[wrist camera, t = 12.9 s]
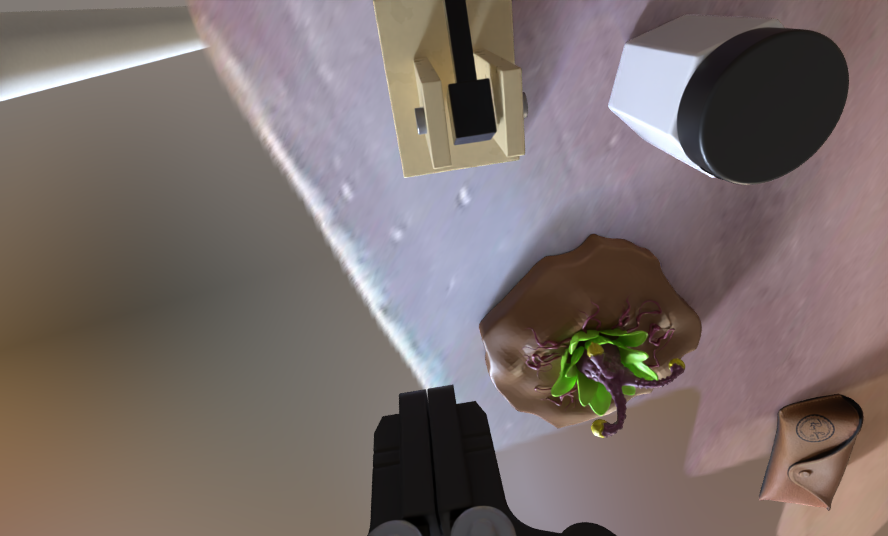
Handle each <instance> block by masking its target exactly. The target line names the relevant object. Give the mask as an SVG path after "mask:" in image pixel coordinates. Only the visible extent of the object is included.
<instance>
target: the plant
mask: <svg viewBox="0 0 888 536" xmlns="http://www.w3.org/2000/svg"><path fill="white" fill-rule="evenodd" d="M479 329H480V333H481V337H482V340H483V343H484V346H485V349H486V355H485V360H486V365H487V369H488V372H489V375H490V378H491V380H492V382H493V384H494V386H495V387H496V389H497V390H498V391H499V392H500V393H501V394H502V395H503V396H504V397H505V398H506V400H507V401H508V402H509V403H510V404H511V405H512V406H513V407H514V408H515V409H516V410H517V411H520V412H526V413H532V414H535V415H537V416H539V417H541V418H542V419H544V420H545V421H547V422H549V423H551V424H552V425H554V426H555V427H557V428H562V427H565V426H569V425H574V424H578V423H581V422H584V421H587V420H591V419H594V418H597V417H601V416H605V415H607V414H610V413H612V412H613V411H615V410H617V421H616V422H615V423H613V424H610V423H608V422H607V421H605V420H602V419H598V420H595V421H594V422H593V423H592V424H593V425H592V426H591V430H592V432H593V434H594V435H596V436H598V437H602V438H604V437H608V436H612V435H613V434H616V433H617V431H618V430H621V429H622V428H623V423H624V420H625V419H626V414H625V413H626V406H625V404H626V403H627V401H629V400H630V399H631V398H633V397H635V396H637V395H641V394H648V393H651V392H652V390H653V389H654V387H657V388H659V387H660V386H661V387H663V386H664V385H668V384H669V383H670V382H673V380H674V379H676V378H677V376H679V375H681V374H682V373H683V372H684V370H685V364H684V362H683V361H682V360H680V359H681V358H682V357H683V356H684V355H685V354H687V353H689V352H691V351H694V350H695V349H696V348H697V346H698V343H699V340H700V337H701V331H702V325H701V320H700V318H699V316H698V315H697V313H696V312H695V311H694V310H693V309H692V307H691V306H690V305H689V304H688V303H687V302H686V301H685V300H684V299H683V298H682V297H680V296H679V295H678V294H677V293H676V292H675V290H674V289H673V287H672V286H671V285H670V283H669V282H668V280H667V279H666V277H665V276H664V274H663V272H662V269H661V265H660V262H659V260H658V258H657V257H656V256H655V255H654V254H653V253H652V252H651V251H649V250H648V249H646V248H642V247H639V246H637V245H635V244H634V243H632V242H630V241H627V240H624V239H612V238H605V237H602V236H599V235H596V234H591V235H590V236H589V237H588V238H587V239H586V240H585V242H584V243H583V244H582V245H581V246H580V247H578V248H577V249H575V250H574V251H571V252H569V253H566V254H562V255H556V256H546V257H544V258H543V259H541V260H540V261H539V262H537V263H536V264H535V265H534V266H533V267H532V269H531V270H530V271H529V272H528V273H527V274H526V275H525V276H524V277H523V278H522V279H521V280H520V281H519V282H518V283H517V285H516V286H515V287H514V288H513V289H512V290H511V291H510V292H509V293H508V294H507V295H506V296H505V298H504V299H503V300H502V301H501V302H500V303H498V304H497V305H496V306H495V307H494V308H493V309H492V310H491V311H490V312H489V313H488V314H487V315H486V316H485V317H484V318H483V320H482V321H481V322H480V324H479Z"/></svg>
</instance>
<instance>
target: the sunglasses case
mask: <svg viewBox="0 0 888 536" xmlns="http://www.w3.org/2000/svg"><path fill="white" fill-rule="evenodd" d="M863 420H864V416H863V411H862V408H861V407H860V406H859V404H858V403H856V402H855V401H854V400H852V399H851V398H849V397H846V396H844V395H840V394H834V395H829V396H822V397H816V398H812V399H807V400H804V401H800V402H797V403H794V404H790V405H787V406H785V407H783V408H782V409H780V410H779V412H778V424H777V432H776V436H775V440H774V445H773V449H772V452H771V456H770V460H769V463H768V466H767V470H766V473H765V476H764V480H763V484H762V487H761V491H760V495H759V500H760V501H761V500H774V501H781V502H787V503H795V504H802V505H809V506H815V507H825V508H827V510H828V511H829V510H830V509H831V503H832V499H833V497H834V495H835V493H836V490H837V488H838V486H839V484H840V481H841V479H842V477H843V474H844V472H845V469H846V466H847V464H848V461H849V458H850V455H851V452H852V449H853V446H854V444H855V440H856V437H857V435H858V434H859V432H860V430H861V428H862V424H863Z"/></svg>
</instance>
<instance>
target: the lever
mask: <svg viewBox="0 0 888 536" xmlns="http://www.w3.org/2000/svg"><path fill="white" fill-rule="evenodd" d="M443 5H444V11H445V18H446V25H447V31H448V38H449V45H450V52H451V58H452V65H453V72H454V78H455V83H452V84H448V89H447V96H446V98H447V105H448V112H449V118H450V125H451V131H452V138H453V144H454V145H461V144H468V143H474V142H481V141H487V140H491V139H492V138H493V136H494V135H495V133H496V132H497V127H496V120H495V113H494V106H493V99H492V92H491V85H490V79H489V78H485V79H478V80H477V75H476V68H475V61H474V54H473V47H472V40H471V33H470V27H469V20H468V13H467V6H466V0H443Z"/></svg>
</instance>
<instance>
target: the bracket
mask: <svg viewBox="0 0 888 536" xmlns="http://www.w3.org/2000/svg"><path fill="white" fill-rule="evenodd" d="M373 5H374V10H375V16H376V22H377V27H378V33H379V39H380V44H381V50H382V56H383V61H384V67H385V73H386V78H387V84H388V89H389V95H390V101H391V106H392V112H393V118H394V123H395V129H396V135H397V140H398V146H399V152H400V157H401V163H402V169H403V174H404V177H405V178H406V177H413V176H419V175H426V174H432V173H439V172H445V171H451V170H458V169H464V168H471V167H477V166H484V165H490V164H497V163H503V162H509V161H516V160H519V156H520V155H525V138H524V119H525V118H526V117H527V114H528V104H527V98H526V95H525V93H524V92H522V69H521V68H520V67H518V66H516V65H515V59H514V39H513V18H512V0H466V6H467V13H468V20H469V27H470V33H471V40H472V47H473V54H474V61H475V68H476V75H477V80H478V79H485V78H489V79H490V85H491V92H492V99H493V106H494V113H495V120H496V127H497V132H496V133H495V135H494V136H493V138H492V139H491V140H487V141H481V142H474V143H468V144H461V145H454V144H453V138H452V131H451V125H450V118H449V112H448V105H447V98H446V96H447V89H448V84H452V83H455V78H454V72H453V65H452V58H451V52H450V45H449V38H448V31H447V25H446V18H445V11H444V5H443V0H373Z"/></svg>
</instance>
